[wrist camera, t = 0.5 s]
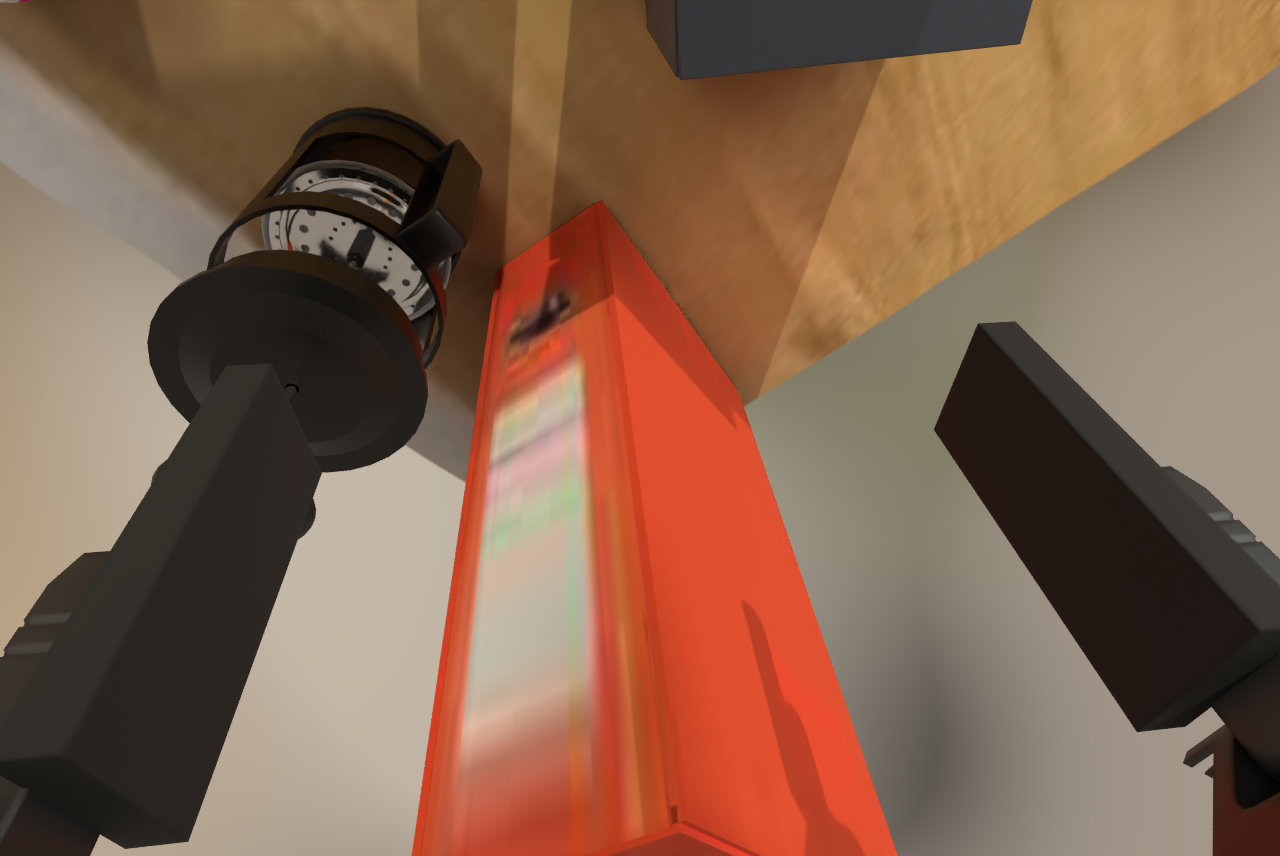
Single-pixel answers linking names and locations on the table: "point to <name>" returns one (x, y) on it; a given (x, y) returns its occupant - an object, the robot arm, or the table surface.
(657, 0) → the carton
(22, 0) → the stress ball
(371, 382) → the french press
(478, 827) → the file binder
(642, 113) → the table surface
